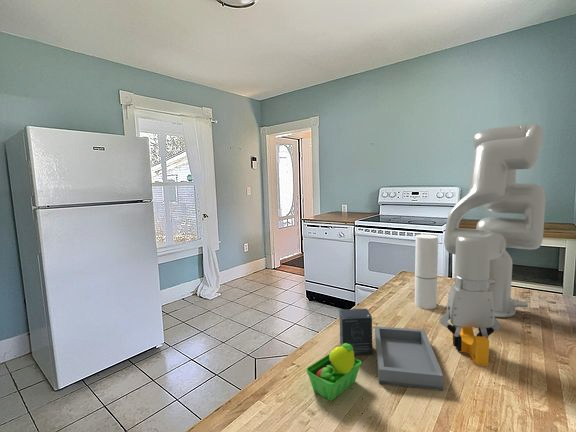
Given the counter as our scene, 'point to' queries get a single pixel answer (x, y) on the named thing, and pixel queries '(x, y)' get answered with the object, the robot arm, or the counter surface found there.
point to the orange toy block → (474, 346)
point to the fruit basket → (334, 372)
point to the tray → (406, 359)
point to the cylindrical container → (426, 271)
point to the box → (356, 330)
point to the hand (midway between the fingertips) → (468, 348)
